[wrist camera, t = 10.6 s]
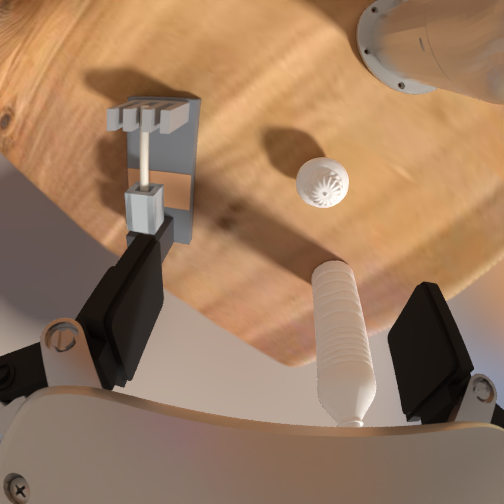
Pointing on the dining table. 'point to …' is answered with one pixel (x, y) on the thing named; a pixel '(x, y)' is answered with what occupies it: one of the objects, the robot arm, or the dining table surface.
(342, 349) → the water bottle
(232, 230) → the dining table surface
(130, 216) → the sleeve
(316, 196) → the white rounded ridged piece
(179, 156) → the board
